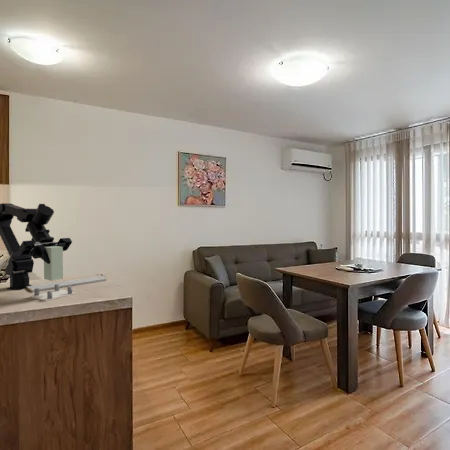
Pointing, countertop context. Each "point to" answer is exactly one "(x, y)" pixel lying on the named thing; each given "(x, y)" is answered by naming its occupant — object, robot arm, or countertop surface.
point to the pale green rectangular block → (54, 263)
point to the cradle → (52, 293)
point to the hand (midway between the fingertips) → (55, 262)
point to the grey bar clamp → (67, 283)
